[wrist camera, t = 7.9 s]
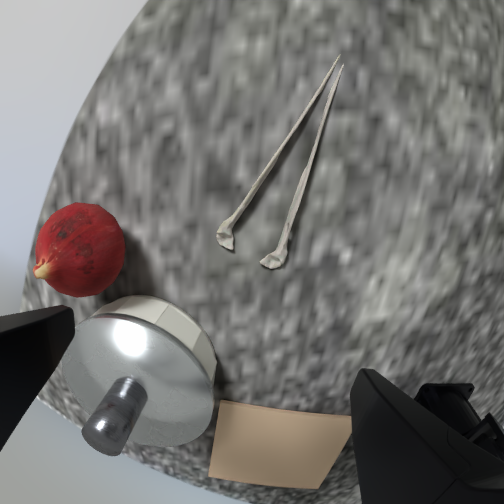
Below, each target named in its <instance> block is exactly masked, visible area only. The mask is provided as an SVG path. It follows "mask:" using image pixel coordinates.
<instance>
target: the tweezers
mask: <svg viewBox="0 0 504 504" xmlns="http://www.w3.org/2000/svg"><path fill="white" fill-rule="evenodd" d="M339 57H340V55H339V56H338V58H337V59H336V61H335V62H334V64H333V66H332V68H331V69H330V71H329V72H328V74H327V76H326V77H325V79H324V80H323V82H322V84H321V85H320V87H319V89H318V90H317V92H316V93H315V95H314V96H313V98H312V99H311V101H310V103H309V104H308V106H307V107H306V109H305V110H304V112H303V113H302V115H301V116H300V118H299V120H298V121H297V123H296V124H295V126H294V127H293V129H292V130H291V132H290V133H289V134H288V136H287V137H286V139H285V140H284V142H283V143H282V145H281V146H280V147H279V149H278V150H277V152H276V153H275V154H274V156H273V157H272V159H271V160H270V162H269V163H268V165H267V166H266V168H265V169H264V171H263V172H262V174H261V175H260V177H259V178H258V179H257V181H256V182H255V184H254V185H253V186H252V188H251V190H250V192H249V193H248V195H247V196H246V198H245V199H244V201H243V202H242V204H241V205H240V206H239V208H238V209H237V210H236V211H235V213H234V214H233V215H232V216H231V217H229V218H228V219H227V220H225V221H224V222H223V223H222V224H221V226H220V227H219V229H218V231H217V235H216V237H217V241H218V242H219V244H220V245H222V246H224V247H225V248H228V249H230V250H233V240H234V237H233V235H232V228H233V226H234V224H235V223H236V221H237V220H238V218H239V217H240V216H241V214H242V213H243V211H244V210H245V208H246V207H247V206H248V204H249V203H250V202H251V200H252V199H253V197H254V195H255V193H256V192H257V190H258V189H259V187H260V186H261V184H262V183H263V181H264V180H265V178H266V177H267V175H268V174H269V172H270V171H271V169H272V168H273V166H274V165H275V163H276V161H277V159H278V157H279V155H280V153H281V151H282V149H283V148H284V146H285V145H286V143H287V142H288V140H289V139H290V137H291V136H292V134H293V133H294V131H295V130H296V129H297V127H298V126H299V124H300V123H301V121H302V120H303V118H304V116H305V115H306V113H307V112H308V110H309V109H310V107H311V105H312V104H313V103H314V101H315V99H316V98H317V96H318V95H319V94H320V93H321V92H322V89H323V87H324V86H325V84H326V82H327V80H328V78H329V77H330V75H331V73H332V71H333V69H334V67H335V66H336V64H337V61H338V59H339ZM343 66H344V64H343V65H342V67H341V69H340V72H339V74H338V76H337V78H336V80H335V82H334V84H333V86H332V88H331V90H330V92H329V96H328V100H327V103H326V106H325V109H324V113H323V117H322V120H321V123H320V126H319V129H318V133H317V137H316V140H315V144H314V147H313V150H312V153H311V156H310V159H309V162H308V165H307V167H306V168H305V170H304V172H303V174H302V176H301V179H300V182H299V185H298V187H297V190H296V193H295V196H294V199H293V202H292V204H291V207H290V210H289V213H288V216H287V220H286V223H285V226H284V229H283V232H282V235H281V238H280V241H279V244H278V246H277V249H276V250H275V251H274V252H273V253H270V254H268V255H267V256H266V257H265V258H264V259H262V260H261V261H260V264H262V265H264V266H266V267H269V268H270V269H273V268H278V267H280V266H281V264H284V261H285V259H286V256H287V242H288V238H289V234H290V231H291V227H292V224H293V221H294V218H295V215H296V213H297V210H298V208H299V205H300V202H301V199H302V196H303V193H304V189H305V186H306V183H307V179H308V176H309V173H310V169H311V166H312V162H313V159H314V156H315V152H316V149H317V146H318V142H319V139H320V135H321V132H322V129H323V125H324V123H325V119H326V116H327V113H328V110H329V107H330V104H331V101H332V98H333V95H334V92H335V90H336V87H337V83H338V81H339V78H340V75H341V72H342V68H343ZM288 228H289V229H288Z"/></svg>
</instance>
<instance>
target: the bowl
mask: <svg viewBox="0 0 504 504" xmlns="http://www.w3.org/2000/svg"><path fill="white" fill-rule="evenodd" d="M102 313H121V314H127V315H132V316H135V317H138V318H141V319H144V320H147V321H149V322H151V323H153V324H156V325H157V326H159V327H161V328H163V329H165V330H166V331H168V332H169V333H171V334H172V335H173V336H175V337H176V338H178V339H179V340H180V341H181V342H182V343H183V344H185V345H186V346H187V347H188V348H189V349H190V350H191V351H192V352H193V353H194V355H195V356H196V357H197V358H198V360H199V361H200V362H201V364H202V365H203V367H204V368H205V370H206V372H207V374H208V376H209V378H210V380H211V383H212V387H213V386H214V379H215V372H216V365H217V361H216V356H215V352H214V348H213V345H212V343H211V341H210V339H209V337H208V335H207V334H206V332H205V331H204V329H203V328H202V327H201V325H200V324H199V323H198V322H197V321H196V320H195V319H194V318H193V317H192V316H190V315H189V314H188V313H187V312H185V311H184V310H183V309H181V308H180V307H178V306H176V305H174V304H173V303H171V302H168V301H166V300H164V299H160V298H157V297H153V296H148V295H130V296H126V297H122V298H119V299H117V300H115V301H114V302H112V303H109V304H106V305H103V306H102V307H101V308H100V309H99V310H98V311H97V312H95V313H94V314H93V315H92V316H94V315H98V314H102Z"/></svg>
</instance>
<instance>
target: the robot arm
mask: <svg viewBox="0 0 504 504" xmlns="http://www.w3.org/2000/svg"><path fill="white" fill-rule="evenodd" d="M74 336H75V321H74V312H73V310H72V308H70V307H67V306H64V305H59V306H53V307H48V308H43V309H38V310H32V311H27V312H22V313H16V314H11V315H5V316H0V451H1V450H2V448H3V446H4V445H5V443H6V442H7V440H8V439H9V437H10V435H11V434H12V432H13V431H14V429H15V428H16V426H17V425H18V423H19V421H20V420H21V418H22V416H23V415H24V414H25V412H26V411H27V409H28V408H29V406H30V405H31V403H32V402H33V401H34V399H35V398H36V396H37V395H38V393H39V392H40V391H41V389H42V388H43V386H44V385H45V383H46V382H47V381H48V379H49V378H50V376H51V375H52V374H53V372H54V371H55V369H56V367H57V366H58V364H59V362H60V360H61V359H62V357H63V355H64V354H65V352H66V350H67V348H68V347H69V345H70V343H71V342H72V340H73V338H74ZM474 388H475V387H474V385H473V384H472V383H463V384H433V383H427V384H424V385H423V386H422V387H421V388H420V390H419V392H418V394H417V396H416V398H415V400H413V399H412V398H411V397H409V396H408V395H407V394H406V393H404V392H403V391H402V390H400V389H399V388H398V387H396V386H395V385H394V384H392V383H391V382H390V381H388V380H387V379H386V378H385V377H383V376H382V375H381V374H379V373H378V372H377V371H375V370H374V369H367V368H362V369H360V370H359V372H358V374H357V377H356V379H355V381H354V384H353V386H352V388H351V392H350V405H351V425H352V439H353V446H354V452H355V458H356V464H357V471H358V478H359V485H360V492H361V499H362V504H504V429H503V427H502V426H501V425H500V424H499V423H498V422H497V420H496V419H495V418H494V417H493V416H492V414H491V413H490V412H489V413H488V414H487V415H486V416H485V418H484V419H483V420H482V421H481V419H480V418H479V416H478V415H477V413H476V412H475V410H474V409H473V407H472V406H471V404H470V403H469V401H468V399H469V397H470V396H471V394H472V392H473V390H474ZM425 389H426V390H425Z"/></svg>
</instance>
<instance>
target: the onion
mask: <svg viewBox="0 0 504 504" xmlns="http://www.w3.org/2000/svg"><path fill="white" fill-rule="evenodd" d="M124 255H125V241H124V236H123V231H122V229H121V228H120V226H119V224H118V222H117V221H116V219H115V217H114V216H113V215H111V214H110V213H109V212H107V211H106V210H105V209H103V208H102V207H101V206H99V205H95V204H86V203H73V204H71V205H68V206H66V207H64V208H62V209H60V210H58V211H56V212H55V213H54V214H52V215H51V216H50V218H49V219H48V220H47V222H46V223H45V224H44V226H43V227H42V228H41V230H40V232H39V235H38V239H37V244H36V264H37V265H36V266H35V267H34V268H33V273H34V276H35V277H36V279H38V278H41V279H45V281H46V282H47V283H48V284H49V285H50V286H52V287H53V288H54V289H55V290H56V291H58V292H60V293H63V294H66V295H69V296H73V297H86V296H92V295H97V294H99V293H101V292H102V291H104V290H105V289H106V288H107V287H108V286H110V285H111V284H112V283H113V282H114V281H115V279H116V278H117V276H118V274H119V272H120V270H121V268H122V266H123V265H124Z"/></svg>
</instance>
